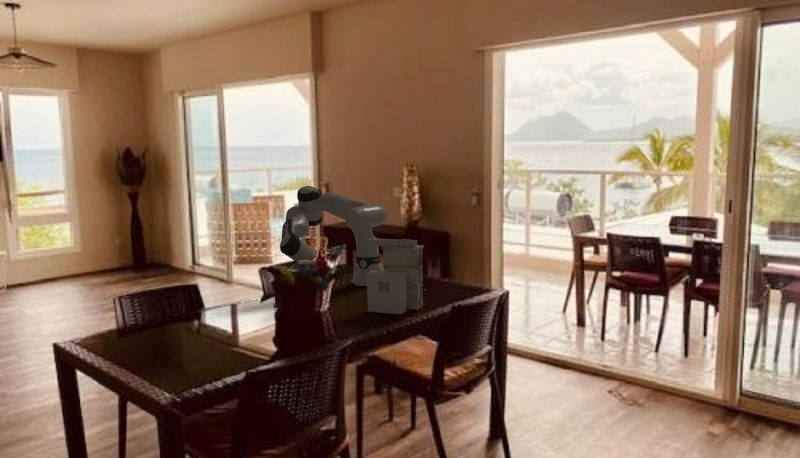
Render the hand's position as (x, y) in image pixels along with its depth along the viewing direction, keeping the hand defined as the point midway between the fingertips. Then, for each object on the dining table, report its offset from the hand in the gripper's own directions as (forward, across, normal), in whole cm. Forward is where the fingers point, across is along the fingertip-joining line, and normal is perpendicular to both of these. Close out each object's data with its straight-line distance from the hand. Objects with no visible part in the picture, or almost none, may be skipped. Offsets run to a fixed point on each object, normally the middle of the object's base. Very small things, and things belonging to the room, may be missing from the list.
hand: (340, 247), depth 265 cm
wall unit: (+13, 0, +36) cm, 38 cm away
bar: (+22, 0, +10) cm, 24 cm away
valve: (+12, +14, +35) cm, 40 cm away
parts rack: (+10, -9, +34) cm, 36 cm away
